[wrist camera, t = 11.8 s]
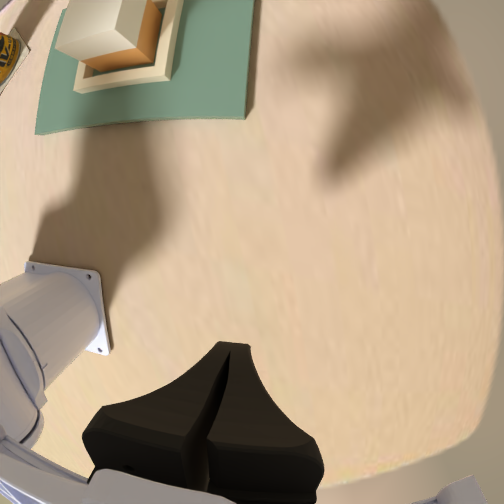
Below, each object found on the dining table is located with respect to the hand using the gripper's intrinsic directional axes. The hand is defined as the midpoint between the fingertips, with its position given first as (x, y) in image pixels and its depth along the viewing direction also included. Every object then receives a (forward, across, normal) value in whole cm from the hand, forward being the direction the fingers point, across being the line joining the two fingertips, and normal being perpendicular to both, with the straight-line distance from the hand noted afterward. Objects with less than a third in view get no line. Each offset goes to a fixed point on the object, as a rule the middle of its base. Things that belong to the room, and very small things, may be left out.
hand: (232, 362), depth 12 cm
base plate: (+9, +10, -18) cm, 23 cm away
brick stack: (+8, +10, -18) cm, 22 cm away
